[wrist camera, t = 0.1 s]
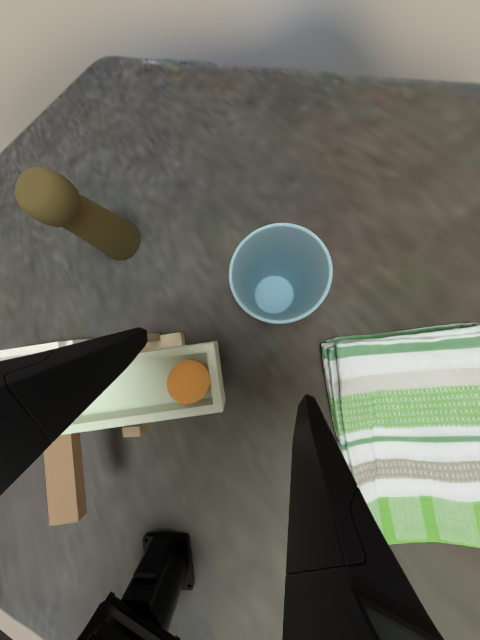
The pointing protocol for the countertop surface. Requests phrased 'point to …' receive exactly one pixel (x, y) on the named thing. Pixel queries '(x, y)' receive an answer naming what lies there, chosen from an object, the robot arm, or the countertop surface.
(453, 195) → the countertop surface
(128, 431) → the lever stand
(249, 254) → the cup
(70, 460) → the lever
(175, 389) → the ball
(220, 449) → the countertop surface
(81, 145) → the countertop surface
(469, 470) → the dish towel
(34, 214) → the olive knobbed post
